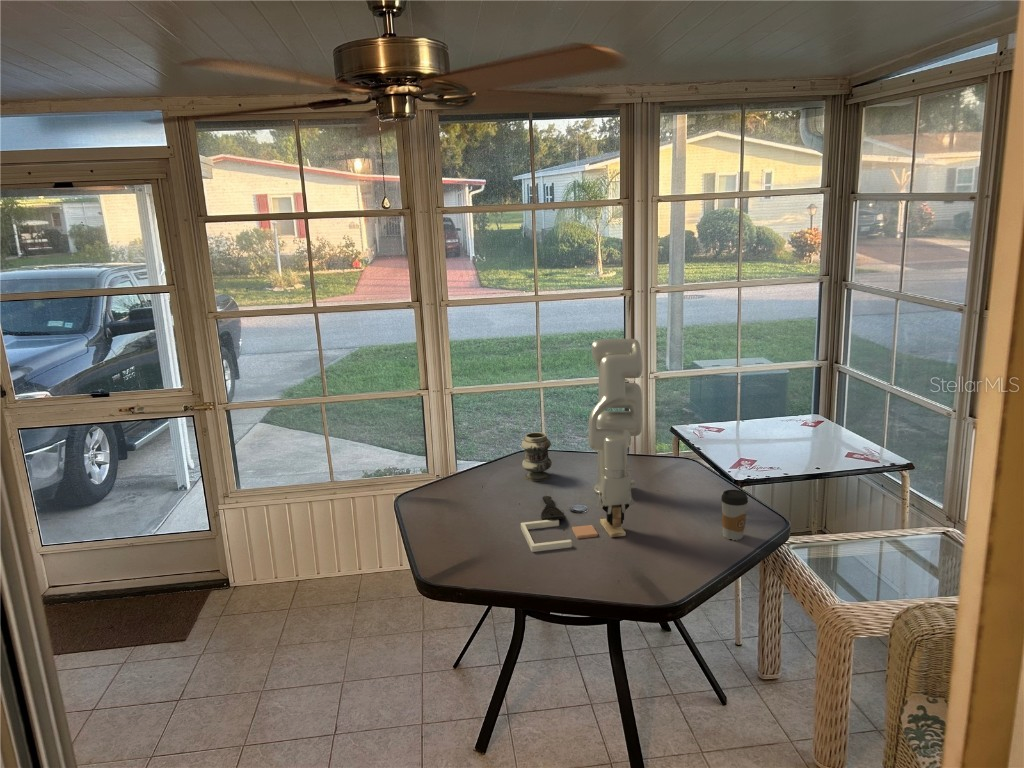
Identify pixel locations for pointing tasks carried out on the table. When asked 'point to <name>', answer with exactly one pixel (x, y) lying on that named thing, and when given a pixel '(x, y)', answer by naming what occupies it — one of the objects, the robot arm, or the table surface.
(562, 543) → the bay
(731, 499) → the coffee cup
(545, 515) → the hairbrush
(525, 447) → the carved stone vase
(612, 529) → the tan l-shaped bookend
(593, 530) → the tile
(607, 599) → the table surface
